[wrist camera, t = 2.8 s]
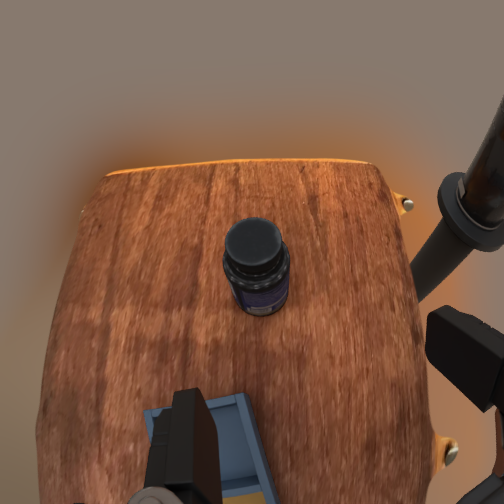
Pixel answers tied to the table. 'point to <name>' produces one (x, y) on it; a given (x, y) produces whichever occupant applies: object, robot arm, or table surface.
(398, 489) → the table surface
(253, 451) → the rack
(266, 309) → the pill bottle
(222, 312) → the table surface
